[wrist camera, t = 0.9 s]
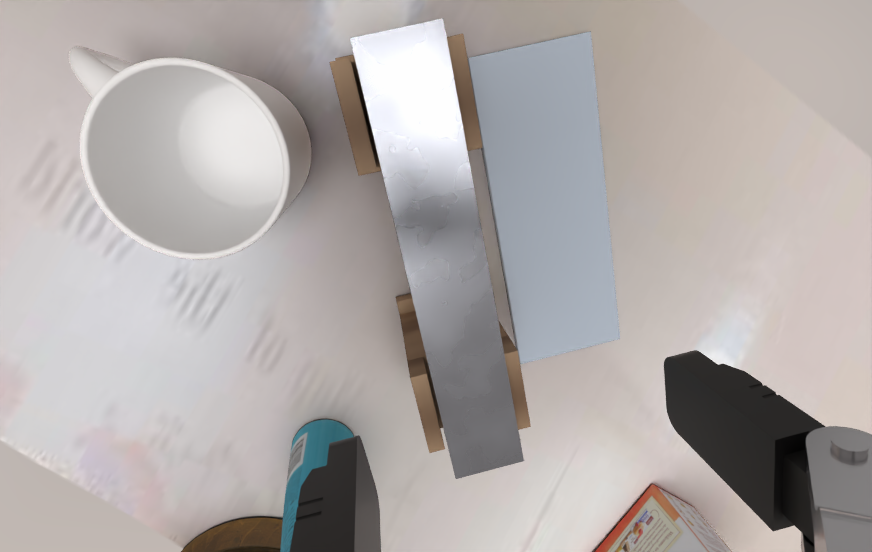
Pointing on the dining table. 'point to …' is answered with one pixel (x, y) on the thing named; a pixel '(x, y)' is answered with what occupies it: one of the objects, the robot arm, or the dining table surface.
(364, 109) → the post
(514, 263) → the mat
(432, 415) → the post
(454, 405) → the rail
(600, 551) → the cracker box
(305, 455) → the tube
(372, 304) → the dining table surface
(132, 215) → the mug
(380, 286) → the dining table surface
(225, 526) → the wooden container
